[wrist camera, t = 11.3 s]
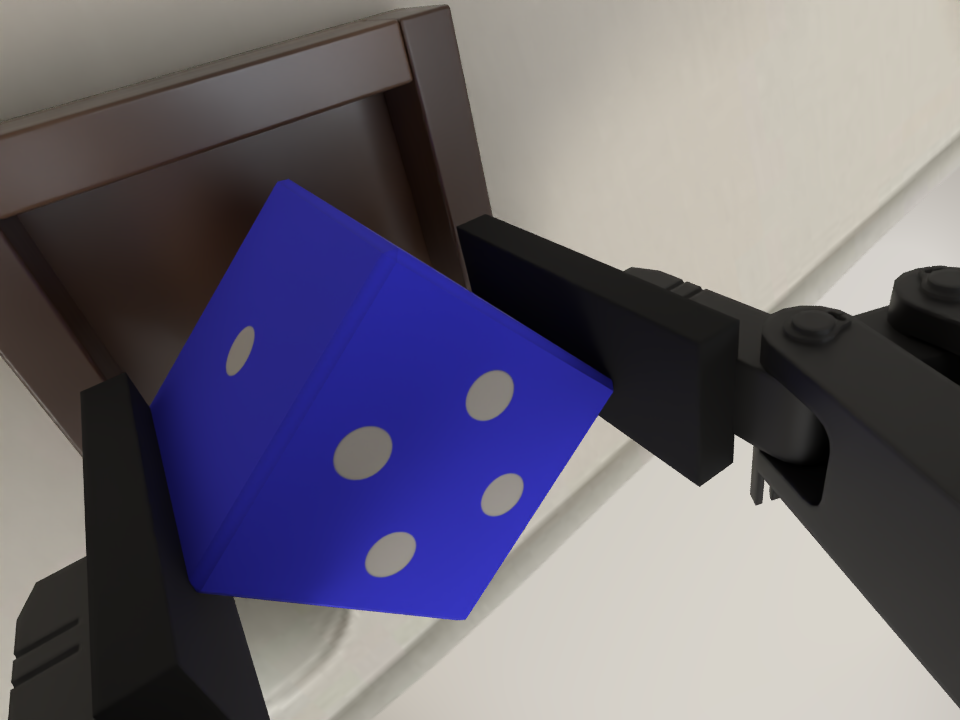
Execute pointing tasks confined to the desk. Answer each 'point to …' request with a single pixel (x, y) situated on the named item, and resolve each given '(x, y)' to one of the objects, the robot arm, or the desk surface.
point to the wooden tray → (219, 190)
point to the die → (359, 423)
